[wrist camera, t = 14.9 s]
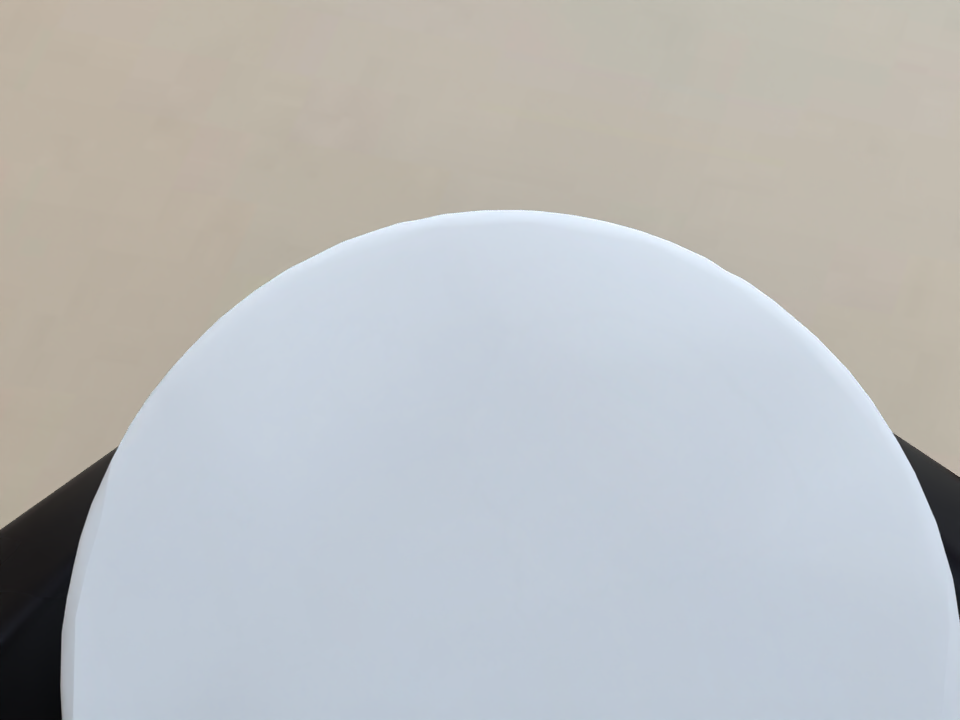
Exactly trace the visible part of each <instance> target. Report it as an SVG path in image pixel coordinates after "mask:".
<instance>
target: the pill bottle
mask: <svg viewBox="0 0 960 720" xmlns="http://www.w3.org/2000/svg"><path fill="white" fill-rule="evenodd" d="M60 688H61V710H62V720H960V620H959V613H958V607H957V600H956V594H955V588H954V582H953V577H952V574H951V570H950V567H949V563H948V560H947V557H946V553H945V550H944V546H943V543H942V540H941V536H940V533H939V529H938V526H937V523H936V520H935V518H934V516H933V514H932V511H931V509H930V507H929V504H928V502H927V500H926V497H925V495H924V493H923V490H922V488H921V486H920V483H919V481H918V479H917V476H916V474H915V472H914V470H913V468H912V466H911V465H910V463H909V461H908V459H907V457H906V455H905V454H904V452H903V450H902V448H901V446H900V444H899V443H898V441H897V440H896V438H895V436H894V435H893V433H892V432H891V430H890V428H889V427H888V425H887V424H886V422H885V420H884V419H883V417H882V416H881V414H880V413H879V411H878V409H877V408H876V406H875V405H874V403H873V402H872V400H871V399H870V398H869V396H868V395H867V394H866V392H865V391H864V390H863V388H862V387H861V386H860V385H859V383H858V382H857V381H856V379H855V378H854V377H853V375H852V374H851V373H850V372H849V370H848V369H847V368H846V367H845V366H844V365H843V364H842V363H841V362H840V361H839V360H838V359H837V358H836V357H835V356H834V355H833V354H832V353H831V352H830V351H829V349H828V348H827V347H826V346H825V345H824V344H823V343H822V342H821V341H820V340H819V339H818V338H817V337H816V336H815V335H814V334H812V333H811V332H810V331H809V330H808V329H807V328H805V327H804V326H803V325H802V324H801V323H800V322H798V321H797V320H796V319H795V318H794V317H792V316H791V315H790V314H789V313H788V312H787V311H785V310H784V309H783V308H782V307H781V306H780V305H778V304H777V303H776V302H775V301H773V300H772V299H771V298H769V297H768V296H766V295H765V294H764V293H762V292H761V291H759V290H758V289H757V288H755V287H754V286H752V285H751V284H750V283H748V282H747V281H745V280H744V279H742V278H740V277H738V276H736V275H734V274H732V273H729V272H727V271H725V270H724V269H722V268H721V267H719V266H718V265H716V264H715V263H713V262H712V261H710V260H709V259H707V258H705V257H703V256H701V255H698V254H696V253H694V252H692V251H690V250H688V249H685V248H683V247H681V246H679V245H677V244H674V243H672V242H670V241H667V240H664V239H661V238H659V237H656V236H653V235H650V234H648V233H645V232H642V231H639V230H636V229H633V228H629V227H625V226H621V225H617V224H613V223H610V222H606V221H601V220H596V219H591V218H585V217H580V216H575V215H568V214H559V213H551V212H542V211H529V210H482V211H472V212H462V213H451V214H443V215H438V216H434V217H429V218H424V219H420V220H415V221H408V222H401V223H398V224H395V225H391V226H388V227H385V228H382V229H379V230H376V231H373V232H370V233H367V234H364V235H361V236H358V237H355V238H353V239H350V240H347V241H344V242H341V243H339V244H337V245H335V246H333V247H331V248H329V249H327V250H325V251H323V252H321V253H319V254H317V255H315V256H313V257H311V258H309V259H307V260H305V261H303V262H301V263H299V264H297V265H295V266H293V267H291V268H289V269H287V270H286V271H284V272H283V273H281V274H280V275H278V276H276V277H275V278H273V279H272V280H270V281H269V282H267V283H266V284H264V285H263V286H261V287H260V288H258V289H256V290H255V291H254V292H253V293H251V294H250V295H249V296H247V297H246V298H245V299H244V300H242V301H241V302H240V303H238V304H237V305H236V306H235V307H233V308H232V309H231V310H230V311H228V312H227V313H226V314H225V315H223V316H222V317H221V318H220V319H219V320H218V321H217V322H216V323H215V324H214V325H213V326H212V327H211V328H210V329H209V330H207V331H206V332H205V333H204V334H203V335H202V336H201V337H200V338H199V339H198V340H197V341H196V342H195V343H194V344H193V345H192V346H191V347H190V349H189V350H188V351H187V352H186V353H185V354H184V355H183V356H182V357H181V358H180V359H179V360H178V362H177V363H176V364H175V365H174V366H173V367H172V368H171V369H170V370H169V372H168V373H167V374H166V375H165V377H164V378H163V379H162V380H161V382H160V383H159V384H158V385H157V387H156V388H155V389H154V390H153V392H152V393H151V394H150V395H149V397H148V398H147V400H146V401H145V403H144V404H143V406H142V407H141V409H140V410H139V412H138V414H137V415H136V417H135V418H134V420H133V421H132V423H131V424H130V426H129V428H128V430H127V432H126V434H125V435H124V437H123V439H122V441H121V443H120V445H119V447H118V449H117V450H116V452H115V454H114V456H113V458H112V460H111V462H110V464H109V466H108V469H107V471H106V473H105V475H104V478H103V480H102V482H101V484H100V486H99V489H98V491H97V493H96V495H95V497H94V500H93V502H92V504H91V507H90V510H89V513H88V516H87V519H86V522H85V525H84V528H83V531H82V534H81V537H80V541H79V545H78V549H77V554H76V558H75V562H74V566H73V571H72V576H71V581H70V586H69V591H68V596H67V601H66V608H65V614H64V621H63V628H62V642H61V683H60Z"/></svg>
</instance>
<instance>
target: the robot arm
mask: <svg viewBox="0 0 960 720" xmlns="http://www.w3.org/2000/svg"><path fill="white" fill-rule="evenodd" d="M893 435H894V436H895V438H896V440H897V441H898V443H899V444H900V446H901V448H902V450H903V452H904V454H905V455H906V457H907V459H908V461H909V463H910V465H911V466H912V468H913V470H914V472H915V474H916V476H917V479H918V481H919V483H920V486H921V488H922V490H923V493H924V495H925V497H926V500H927V502H928V504H929V507H930V509H931V511H932V514H933V516H934V518H935V520H936V523H937V526H938V529H939V533H940V536H941V540H942V543H943V546H944V550H945V553H946V557H947V560H948V563H949V567H950V570H951V574H952V577H953V582H954V588H955V594H956V600H957V607H958V613H959V620H960V477H958V476H957V475H955V474H954V473H952V472H951V471H949V470H948V469H946V468H945V467H943V466H942V465H940V464H939V463H937V462H936V461H934V460H933V459H931V458H930V457H928V456H927V455H925V454H924V453H922V452H921V451H919V450H918V449H916V448H915V447H913V446H912V445H910V444H909V443H907V442H906V441H904V440H903V439H901V438H900V437H898V436H897V435H895V434H894V433H893ZM118 447H119V446H118ZM118 447H117V448H115V449H114V450H113V451H111V452H110V453H108V454H107V455H105V456H104V457H103V458H101V459H100V460H98V461H97V462H96V463H94V464H93V465H91V466H90V467H88V468H87V469H86V470H84V471H83V472H81V473H80V474H79V475H77V476H76V477H74V478H73V479H72V480H70V481H69V482H67V483H66V484H64V485H63V486H62V487H60V488H59V489H57V490H56V491H55V492H53V493H52V494H50V495H49V496H47V497H46V498H45V499H43V500H42V501H40V502H39V503H38V504H36V505H35V506H33V507H32V508H30V509H29V510H28V511H26V512H25V513H23V514H22V515H21V516H19V517H18V518H16V519H15V520H14V521H12V522H11V523H9V524H8V525H6V526H5V527H4V528H2V529H1V530H0V720H62V710H61V688H60V683H61V642H62V628H63V621H64V614H65V608H66V601H67V596H68V591H69V586H70V581H71V576H72V571H73V566H74V562H75V558H76V554H77V549H78V545H79V541H80V537H81V534H82V531H83V528H84V525H85V522H86V519H87V516H88V513H89V510H90V507H91V504H92V502H93V500H94V497H95V495H96V493H97V491H98V489H99V486H100V484H101V482H102V480H103V478H104V475H105V473H106V471H107V469H108V466H109V464H110V462H111V460H112V458H113V456H114V454H115V452H116V450H117V449H118Z"/></svg>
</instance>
